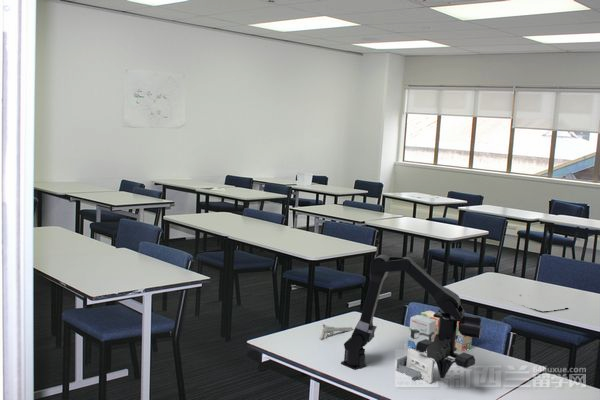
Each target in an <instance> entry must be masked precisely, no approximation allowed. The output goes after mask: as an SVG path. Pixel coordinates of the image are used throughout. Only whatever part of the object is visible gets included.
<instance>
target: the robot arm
mask: <svg viewBox="0 0 600 400" xmlns="http://www.w3.org/2000/svg"><path fill="white" fill-rule="evenodd" d="M398 271H399V272H400V271H401V272H402V271H403V272H405V273H406V274H407V275H408V276H409V277H411V279H412V280H413V281H415V282H416V283H417V284H418V285H420V286H421V288H423V290H425V291H426V292H427V293H428V294H430V296H431V298H432V299H433V300H434V302H435V303H436V305H437V306H438V308H439V309H438V310H437V311H434V312H435V314H434V315H433V316H434V317H437V318H439V327H438V334H436V336H435V339H434V341H430V340H427V339H425V340H422V341H419V342H418V343H417V344H416V349H415V351H417V352H419V353H421V354H422V353H423V354H424V353H425V351H427V353H426V357H428V358H430V359H432V360H434V361H435V363H436V365H437V366H436V367H437V370H438V374H439V378H440V379H442V380H443V379H445V377H446V375H447V374H448V372H449V370H450V368H451V367H452V366H453V364H455V365H456V366H458V367H461V368H464V369H467V368H469V367H472V366H474V365H475V364H476V358H475V356H474V355H473V354H470V353H468V352H461V353H457V350H456V349H457V348H456V347H455V340H456V339H458V335H456V331H457V322H459V327H458V331H459V332H460V334H461V335H463V336H468V337H472V339H473V338H474V339H479V340H480V339H481V334H482V328H483V326H482V316H479V315H471V314H466V311H465V309H464V308H463V306H462V304H461V298H460V296H459V294H457V293H455V292H454V291H453V290H451V289H449V288H447V287H445V286H444V285H441V284H440V283H439V282H437V281H436V280H435V279H434V278H433V277H432V276H431V275H430V274H428V272H426V271H425V270H424V269H422V267H421V266H420V265H418V264H417V263H416V261H415V260H413V258H411V257H410V256H402V257H401V256H389V255H387V254H380V255H378V256H377V257H376V256H375V258H373V259H372V260H371V262H370V266H369V279H370V281H369V284H368V289H367V293H366V295H365V300H364V304H363V307H362V312H361V314H360V319H359V321H358V322H357V324H356V325H355V328H353V329H354V330H352V333H351V336H350V337H349V338H348V339H347V340H346V341H345V342H344V343H343V347H344V357H343V358H344V359H343V360H342V361H340V364H341V365H344V366H345V367H348V368H350V369H353V370H357V369H360V368H363V367H366V366H367V363H366V351H365V350H366V348H364V347H366V346H367V344H368V343H370V342H371V341H372V340H373V339H374V338H375V332H376V330H377V327H378V326H377V325H374V323H373V320H374V316H375V313H376V309H377V305H378V302H379V298H380V294H381V292H382V291H381V290H382V287H383V285H384V284H383V283H384V282H385V279H386V278H387V276H388V274H389V272H390V273H392V272H398Z"/></svg>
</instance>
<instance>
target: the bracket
mask: <svg viewBox="0 0 600 400" xmlns="http://www.w3.org/2000/svg"><path fill="white" fill-rule="evenodd" d="M396 361H397V362H396V368H395V369H396V370H395V371H396V372H398V373H400V374H403V373H405V374H406V375H405V374H404V375H405V376H408V377H410V378H411V380H412V381H414V382H416V381H417V380H419V381H420V380H421V378H420V374H421V372H419V371H416V370H414V369H411V368H409V367H407V366H406V364H407V356H405V355H404V356H403V357H400V358H398V359H396Z"/></svg>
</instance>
